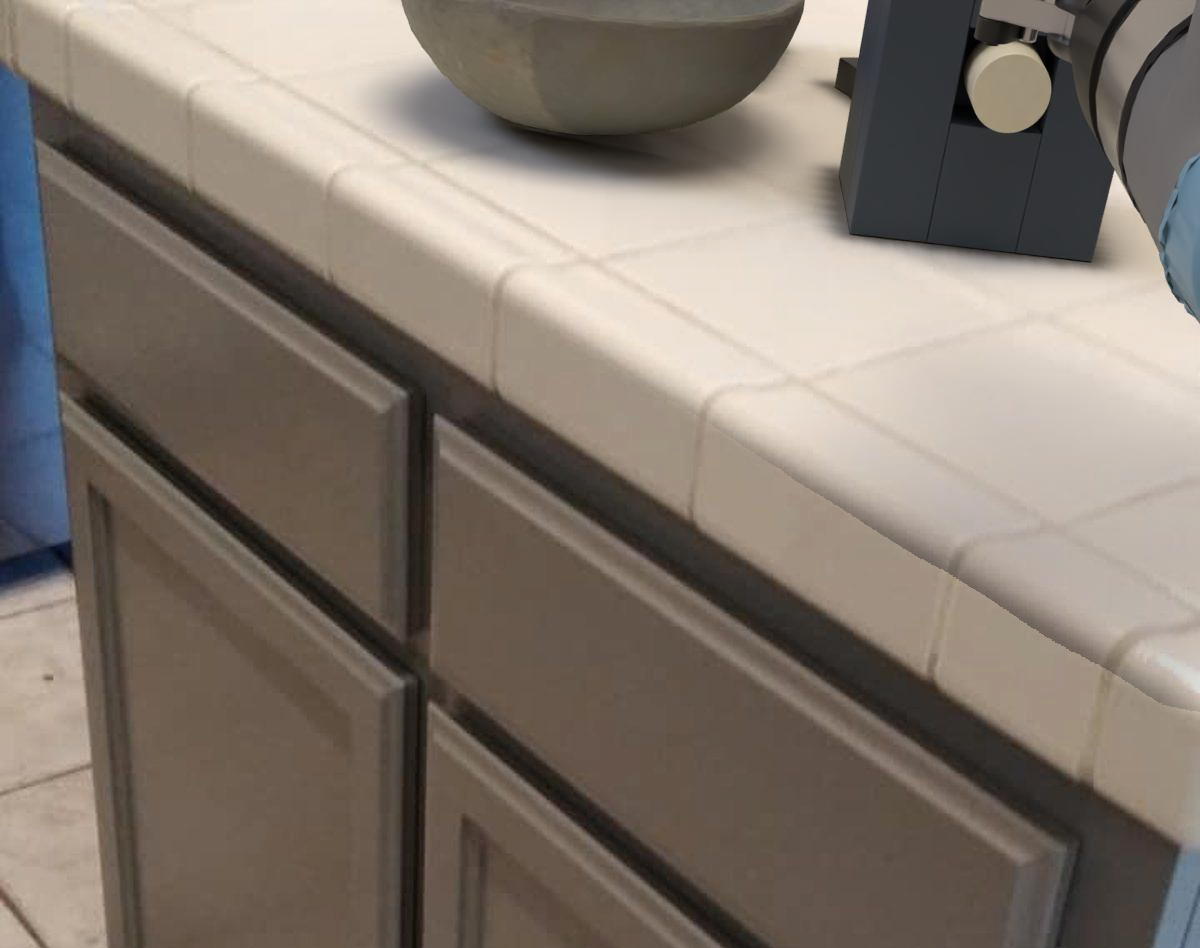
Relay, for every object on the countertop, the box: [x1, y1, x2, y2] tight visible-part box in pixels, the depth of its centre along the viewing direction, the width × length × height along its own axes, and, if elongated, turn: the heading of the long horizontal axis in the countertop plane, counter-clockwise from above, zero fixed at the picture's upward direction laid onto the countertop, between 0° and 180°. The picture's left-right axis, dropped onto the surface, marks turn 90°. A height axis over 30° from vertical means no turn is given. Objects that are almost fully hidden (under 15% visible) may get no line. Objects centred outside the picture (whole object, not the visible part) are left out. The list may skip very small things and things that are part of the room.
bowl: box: [400, 0, 806, 136], centre depth 108 cm, size 21×21×8 cm
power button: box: [964, 40, 1051, 133], centre depth 95 cm, size 4×4×4 cm
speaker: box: [838, 0, 1115, 262], centre depth 100 cm, size 10×12×13 cm
